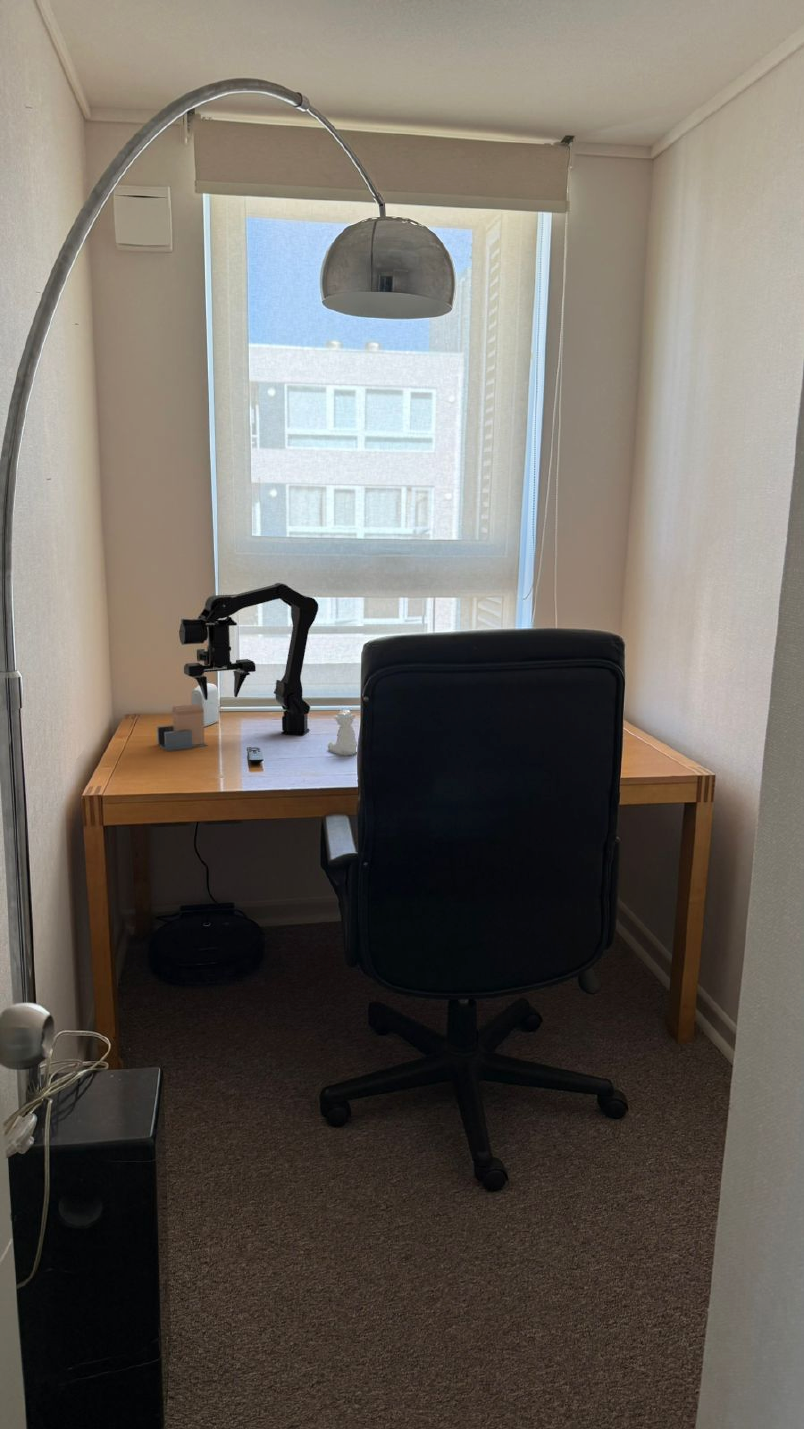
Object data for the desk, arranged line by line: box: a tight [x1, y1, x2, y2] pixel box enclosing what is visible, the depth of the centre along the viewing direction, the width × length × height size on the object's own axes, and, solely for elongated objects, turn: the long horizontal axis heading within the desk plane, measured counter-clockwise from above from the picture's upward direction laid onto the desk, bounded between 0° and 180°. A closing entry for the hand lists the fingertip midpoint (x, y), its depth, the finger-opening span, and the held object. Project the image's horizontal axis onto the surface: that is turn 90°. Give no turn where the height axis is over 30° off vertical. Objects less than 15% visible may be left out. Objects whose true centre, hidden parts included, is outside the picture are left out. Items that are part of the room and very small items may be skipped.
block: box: [171, 704, 205, 745], centre depth 261 cm, size 7×5×10 cm
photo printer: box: [190, 682, 220, 728], centre depth 284 cm, size 10×4×12 cm, turn 160°
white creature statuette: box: [327, 709, 358, 757], centre depth 254 cm, size 10×9×12 cm
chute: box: [156, 724, 208, 752], centre depth 260 cm, size 12×8×5 cm
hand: (221, 698), depth 264 cm, fingers open, 8 cm apart
